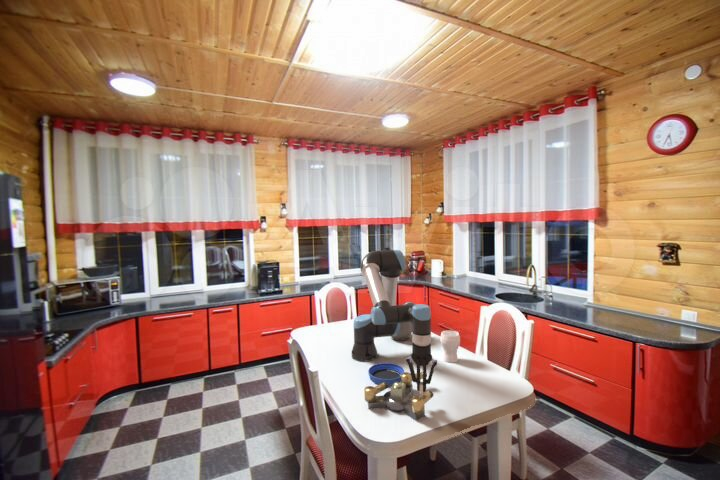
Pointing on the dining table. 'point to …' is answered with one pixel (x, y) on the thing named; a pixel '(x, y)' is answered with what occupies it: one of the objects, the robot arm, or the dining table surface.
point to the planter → (403, 331)
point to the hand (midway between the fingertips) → (421, 398)
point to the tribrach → (397, 400)
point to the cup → (450, 345)
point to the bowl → (385, 373)
